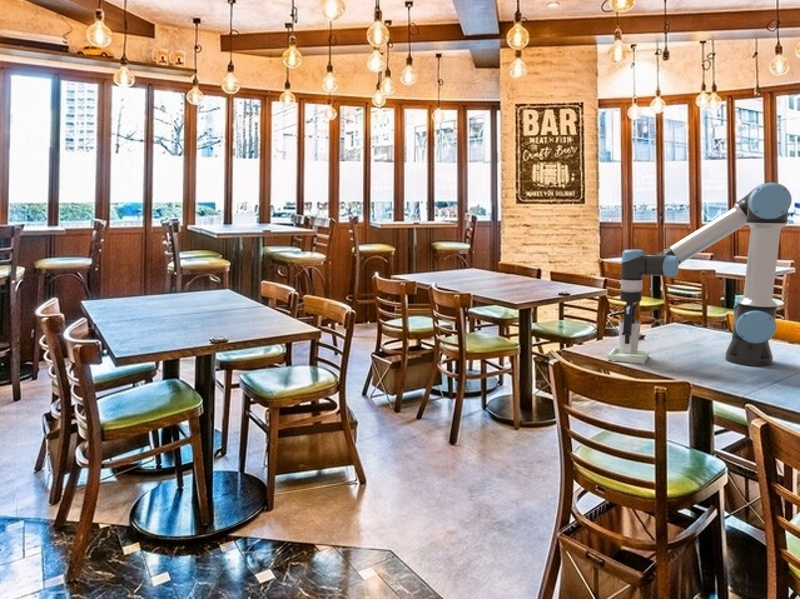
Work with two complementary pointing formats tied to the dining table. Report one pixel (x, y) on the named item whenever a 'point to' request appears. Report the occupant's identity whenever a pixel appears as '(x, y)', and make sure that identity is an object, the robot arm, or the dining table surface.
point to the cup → (635, 336)
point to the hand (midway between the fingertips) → (628, 349)
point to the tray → (628, 356)
